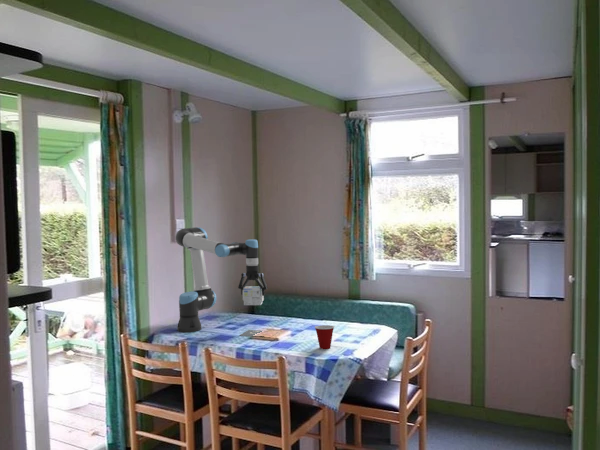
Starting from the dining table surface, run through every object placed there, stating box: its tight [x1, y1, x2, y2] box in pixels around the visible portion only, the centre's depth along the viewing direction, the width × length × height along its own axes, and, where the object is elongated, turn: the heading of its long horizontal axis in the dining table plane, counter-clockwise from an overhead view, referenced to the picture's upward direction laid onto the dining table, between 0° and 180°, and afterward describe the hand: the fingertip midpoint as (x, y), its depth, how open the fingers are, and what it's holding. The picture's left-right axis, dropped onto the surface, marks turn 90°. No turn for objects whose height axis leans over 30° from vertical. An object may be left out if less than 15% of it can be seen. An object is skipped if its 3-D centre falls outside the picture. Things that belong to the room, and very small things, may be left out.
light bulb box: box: [243, 285, 263, 306], centre depth 319 cm, size 11×7×11 cm, turn 84°
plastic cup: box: [314, 324, 335, 350], centre depth 283 cm, size 11×11×12 cm
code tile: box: [239, 329, 263, 337], centre depth 317 cm, size 20×14×1 cm
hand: (253, 300), depth 319 cm, fingers closed on light bulb box, 11 cm apart
